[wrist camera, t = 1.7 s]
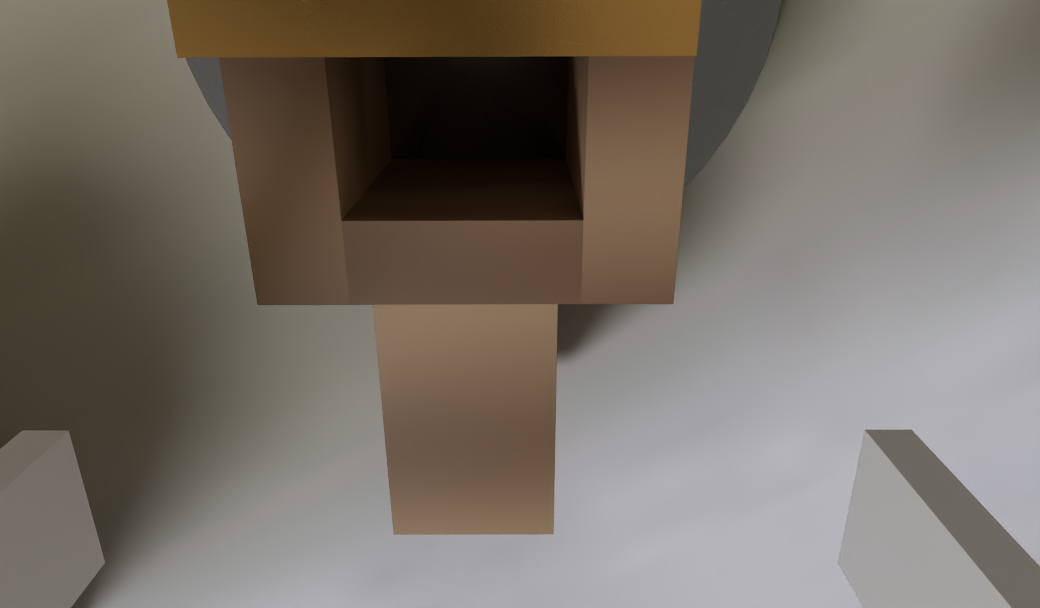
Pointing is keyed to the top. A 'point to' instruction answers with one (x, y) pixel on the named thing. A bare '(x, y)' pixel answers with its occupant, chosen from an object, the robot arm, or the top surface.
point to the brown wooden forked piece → (461, 259)
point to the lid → (490, 61)
